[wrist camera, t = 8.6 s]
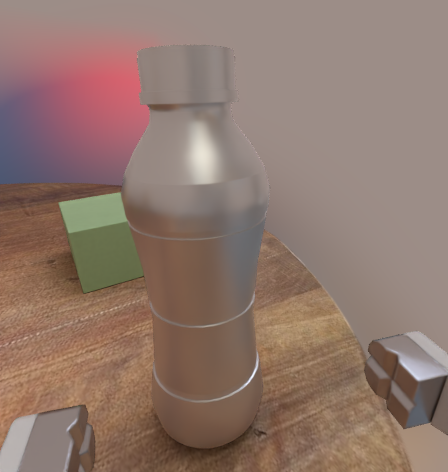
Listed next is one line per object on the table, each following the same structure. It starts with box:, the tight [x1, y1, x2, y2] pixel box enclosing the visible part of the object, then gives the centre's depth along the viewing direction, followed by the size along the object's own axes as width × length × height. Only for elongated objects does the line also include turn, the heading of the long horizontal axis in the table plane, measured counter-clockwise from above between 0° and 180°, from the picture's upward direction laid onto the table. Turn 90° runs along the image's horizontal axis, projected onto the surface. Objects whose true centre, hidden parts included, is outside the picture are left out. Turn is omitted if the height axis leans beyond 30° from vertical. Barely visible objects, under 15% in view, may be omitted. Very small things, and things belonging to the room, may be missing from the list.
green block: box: [59, 192, 144, 293], centre depth 39 cm, size 12×12×7 cm
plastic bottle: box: [121, 45, 270, 448], centre depth 16 cm, size 6×7×20 cm
